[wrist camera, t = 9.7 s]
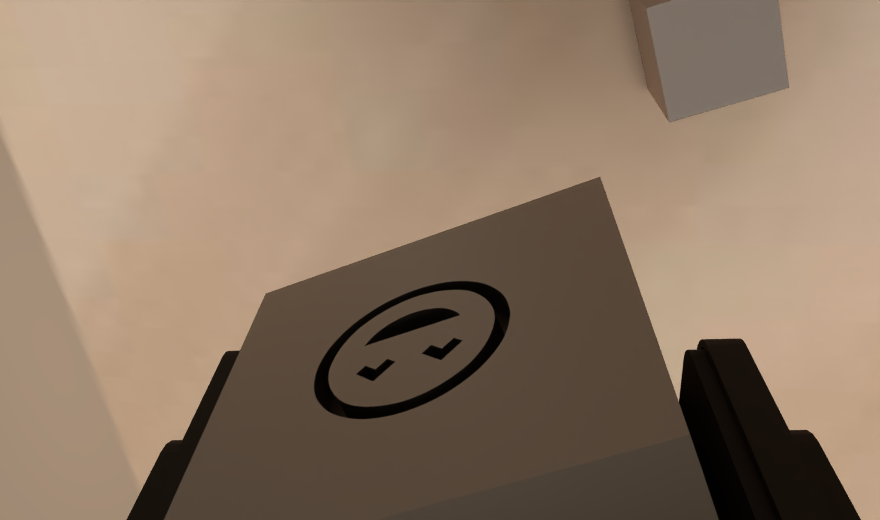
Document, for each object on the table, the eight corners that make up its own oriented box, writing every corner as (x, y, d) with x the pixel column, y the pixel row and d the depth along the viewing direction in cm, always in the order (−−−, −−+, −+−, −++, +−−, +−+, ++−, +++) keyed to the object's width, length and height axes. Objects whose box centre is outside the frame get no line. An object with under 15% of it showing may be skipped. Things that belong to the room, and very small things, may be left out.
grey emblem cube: (692, 449, 13) (809, 785, 8) (403, 526, 14) (369, 858, 9) (599, 176, 10) (689, 434, 6) (265, 293, 11) (135, 583, 7)
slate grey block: (625, -14, 29) (646, 8, 25) (737, -50, 28) (774, -32, 25) (647, 88, 31) (669, 122, 27) (752, 57, 30) (789, 87, 26)
